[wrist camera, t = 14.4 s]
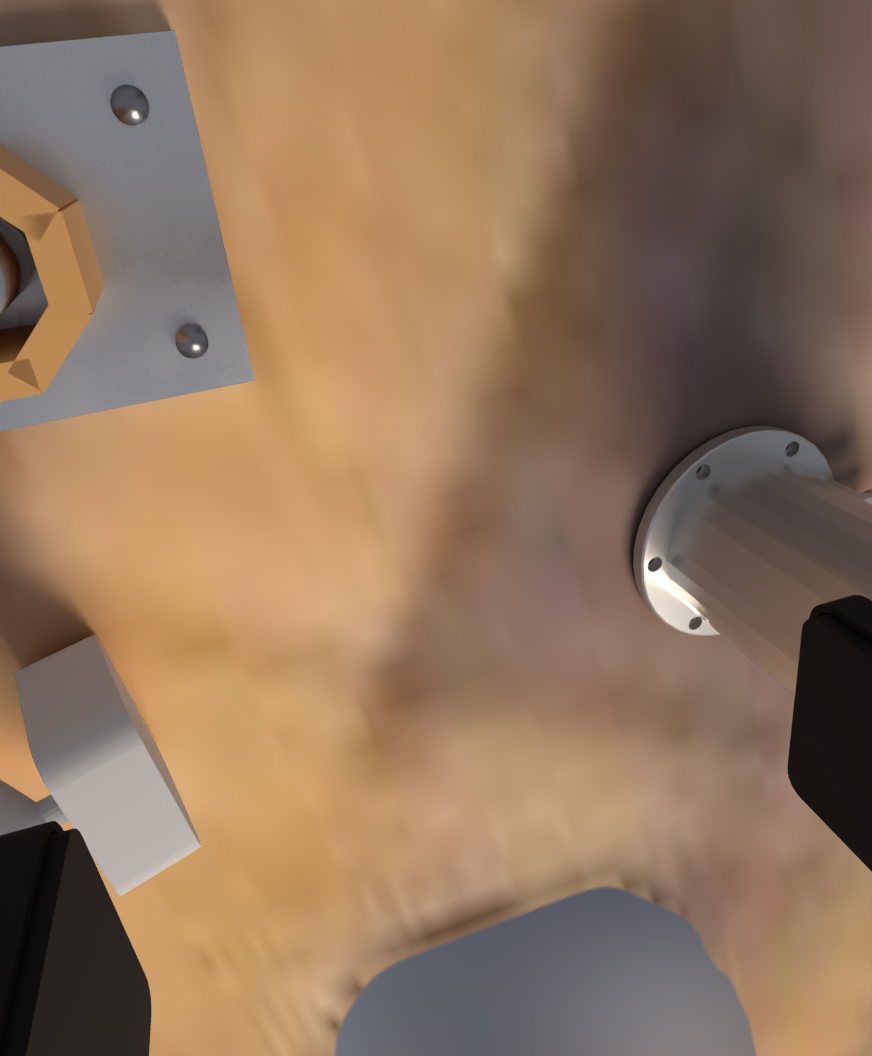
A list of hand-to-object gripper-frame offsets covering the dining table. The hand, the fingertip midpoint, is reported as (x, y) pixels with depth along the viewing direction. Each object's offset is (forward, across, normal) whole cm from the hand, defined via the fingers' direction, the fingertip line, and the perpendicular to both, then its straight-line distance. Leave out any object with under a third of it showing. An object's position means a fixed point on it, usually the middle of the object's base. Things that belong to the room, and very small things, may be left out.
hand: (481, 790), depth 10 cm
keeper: (+25, +9, -6) cm, 27 cm away
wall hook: (+26, +14, +14) cm, 33 cm away
